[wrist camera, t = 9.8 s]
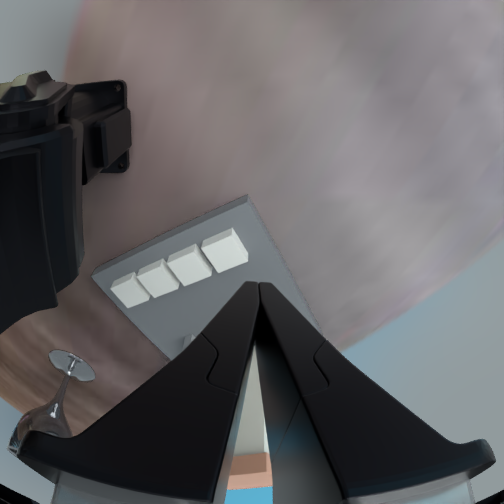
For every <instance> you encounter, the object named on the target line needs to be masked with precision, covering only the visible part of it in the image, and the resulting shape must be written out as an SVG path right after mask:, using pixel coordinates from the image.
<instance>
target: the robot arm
mask: <svg viewBox="0 0 504 504" xmlns="http://www.w3.org/2000/svg"><path fill="white" fill-rule="evenodd" d="M117 84H119V85H120V86H121V89H120V90H119V91H118V90H117V89H116V85H117ZM130 146H131V120H130V110H129V109H128V108H127V86H126V83H125V82H124V81H123V80H111V81H101V82H92V83H84V84H76V85H71V84H67V83H64V82H55V80H52V78H51V77H50V75H49V74H48V73H47V71H34V72H30V73H26V74H22V75H19V76H17V77H16V78H15V79H14V80H13V81H12V82H7V83H1V84H0V334H1V333H3V332H4V331H5V330H6V329H7V328H9V327H10V326H11V325H13V324H14V323H15V322H17V321H18V320H20V319H21V318H23V317H25V316H27V315H30V314H32V313H34V312H37V311H40V310H45V309H50V308H55V307H57V306H58V300H57V296H56V294H57V293H58V292H59V291H61V290H62V289H64V288H65V287H67V286H68V285H69V284H71V283H72V282H73V281H74V279H75V278H76V277H77V276H78V275H79V267H80V265H81V262H82V259H83V256H84V242H83V222H82V185H86V184H87V183H88V182H89V181H90V180H91V179H92V178H93V177H94V176H95V175H97V174H98V173H123V172H125V171H126V170H127V169H128V168H129V148H130ZM120 163H123V164H124V167H121V166H120ZM254 343H255V350H256V358H257V366H258V373H259V381H260V388H261V396H262V403H263V411H264V418H265V426H266V433H267V440H268V448H269V455H270V462H271V470H272V482H273V504H504V490H502V491H500V492H498V493H496V494H494V495H492V496H490V497H488V498H486V499H484V500H481V501H479V502H477V503H475V500H474V496H473V491H472V487H471V483H470V479H471V478H473V477H475V476H476V475H478V474H480V473H482V472H483V471H485V470H486V469H488V468H489V467H491V466H492V465H493V464H494V463H495V462H496V459H495V456H494V453H493V451H492V448H491V447H490V445H489V444H488V443H487V441H486V440H485V439H478V440H474V441H471V442H468V443H464V444H457V443H453V442H451V441H449V440H447V439H446V438H444V437H443V436H442V435H441V434H439V433H438V432H437V431H436V430H434V429H433V428H432V427H430V426H429V425H428V424H427V423H425V422H424V421H423V420H422V419H420V418H419V417H418V416H416V415H415V414H414V413H412V412H411V411H410V410H409V409H408V408H406V407H405V406H404V405H403V404H401V403H400V402H399V401H398V400H396V399H395V398H394V397H393V396H391V395H390V394H389V393H388V392H386V391H385V390H384V389H383V388H381V387H380V386H379V385H378V384H376V383H375V382H374V381H373V380H371V379H370V378H369V377H367V376H366V375H365V374H364V373H363V372H362V371H360V370H359V369H358V368H357V367H356V366H354V365H353V364H352V363H351V362H350V361H349V360H347V359H346V358H345V357H344V356H343V355H342V354H341V353H340V352H339V351H338V350H337V349H336V348H335V347H334V346H333V345H332V344H331V343H330V342H329V341H328V340H326V339H325V338H324V337H323V335H322V334H321V333H320V332H319V331H318V330H317V329H316V328H315V327H314V326H313V325H312V324H311V323H310V322H309V321H308V320H307V319H306V318H305V317H304V316H303V315H302V314H301V313H300V312H299V311H298V310H297V309H296V307H295V306H294V305H293V304H292V303H291V302H290V301H289V300H288V299H287V298H286V297H285V296H284V295H283V294H282V293H281V292H280V291H279V290H278V289H277V288H276V287H275V286H274V285H273V284H272V283H271V282H259V284H258V282H256V281H245V282H244V283H243V284H242V285H241V287H240V288H239V289H238V290H237V291H236V292H235V293H234V295H233V296H232V297H231V298H230V299H229V300H228V301H227V303H226V304H225V305H224V306H223V307H222V308H221V309H220V311H219V312H218V313H217V314H216V315H215V316H214V317H213V319H212V320H211V321H210V322H209V323H208V324H207V325H206V326H205V328H204V329H203V330H202V331H201V332H200V333H199V334H198V335H197V336H196V337H195V338H194V340H193V341H192V342H191V343H190V344H189V345H188V346H187V347H186V348H185V349H184V350H183V351H182V352H181V353H180V354H178V355H177V356H176V357H175V358H174V359H173V360H172V361H170V362H169V363H168V364H167V365H166V366H164V367H163V368H162V369H161V370H159V371H158V372H157V373H156V374H155V375H153V376H152V377H151V378H150V379H148V380H147V381H146V382H145V383H143V384H142V385H141V386H140V387H139V388H137V389H136V390H135V391H134V392H132V393H131V394H130V395H129V396H127V397H126V398H125V399H124V400H122V401H121V402H120V403H119V404H117V405H116V406H115V407H114V408H112V409H111V410H110V411H108V412H107V413H106V414H105V415H103V416H102V417H101V418H100V419H98V420H97V421H96V422H94V423H93V424H92V425H91V426H89V427H88V428H87V429H85V430H84V431H83V432H82V433H80V434H78V435H77V436H74V437H70V438H62V437H57V436H54V435H51V434H48V433H45V432H42V431H38V430H29V431H27V432H26V434H25V435H24V437H23V439H22V441H21V442H20V445H19V447H18V450H17V453H16V456H17V457H18V458H19V459H20V460H21V461H22V462H24V463H25V464H26V465H28V466H29V467H30V468H32V469H33V470H34V471H36V472H38V473H39V474H40V475H42V476H43V477H45V478H46V479H48V480H49V481H51V482H52V483H54V484H55V487H54V491H53V495H52V499H51V504H224V501H225V496H226V490H227V485H228V480H229V475H230V470H231V465H232V460H233V455H234V450H235V445H236V440H237V435H238V430H239V424H240V419H241V414H242V409H243V404H244V399H245V393H246V388H247V383H248V377H249V372H250V367H251V361H252V356H253V350H254ZM0 504H39V503H38V502H36V501H34V500H32V499H30V498H28V497H26V496H23V495H21V494H19V493H17V492H15V491H13V490H11V489H9V488H7V487H5V486H4V485H2V484H0Z"/></svg>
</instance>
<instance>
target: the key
mask: <svg viewBox="0 0 504 504" xmlns="http://www.w3.org/2000/svg"><path fill="white" fill-rule="evenodd" d="M268 486H273V482H272V470H271V462H270V455H269V448H268V440H267V433H266V426H265V418H264V411H263V403H262V396H261V388H260V381H259V373H258V366H257V358H256V350H255V346H254V350H253V356H252V361H251V367H250V372H249V377H248V383H247V388H246V393H245V399H244V404H243V409H242V414H241V419H240V424H239V430H238V435H237V440H236V445H235V450H234V455H233V460H232V465H231V470H230V475H229V480H228V485H227V489H229V490H233V489H247V488H258V487H268Z"/></svg>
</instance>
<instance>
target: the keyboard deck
mask: <svg viewBox="0 0 504 504" xmlns="http://www.w3.org/2000/svg"><path fill="white" fill-rule="evenodd" d="M91 277H92V279H93V280H94V281H95V282H96V283H97V284H98V285H99V287H100V288H101V289H102V290H103V291H104V292H105V293H106V294H107V296H108V297H109V298H110V299H111V300H112V301H113V302H114V303H115V304H116V305H117V306H118V307H119V309H120V310H121V311H122V312H123V313H124V314H125V315H126V316H127V317H128V318H129V319H130V320H131V321H132V322H133V323H134V324H135V325H136V326H137V327H138V328H139V329H140V330H141V331H142V332H143V333H144V334H145V335H146V336H147V337H148V338H149V339H150V340H151V341H152V342H153V343H154V344H155V345H156V346H157V347H158V348H159V349H160V350H161V351H162V352H163V353H164V354H165V355H166V356H167V357H168V358H169V359H170V360H171V361H172V360H173V359H174V358H175V357H176V356H177V355H178V354H180V353H181V352H182V351H183V350H184V349H185V348H186V347H187V346H188V345H189V344H190V343H191V342H192V341H193V340H194V338H195V337H196V336H197V335H198V334H199V333H200V332H201V331H202V330H203V329H204V328H205V326H206V325H207V324H208V323H209V322H210V321H211V320H212V319H213V317H214V316H215V315H216V314H217V313H218V312H219V311H220V309H221V308H222V307H223V306H224V305H225V304H226V303H227V301H228V300H229V299H230V298H231V297H232V296H233V295H234V293H235V292H236V291H237V290H238V289H239V288H240V287H241V285H242V284H243V283H244V282H245V281H256V282H258V284H259V282H271V283H272V284H273V285H274V286H275V287H276V288H277V289H278V290H279V291H280V292H281V293H282V294H283V295H284V296H285V297H286V298H287V299H288V300H289V301H290V302H291V303H292V304H293V305H294V306H295V307H296V309H297V310H298V311H299V312H300V313H301V314H302V315H303V316H304V317H305V318H306V319H307V320H308V321H309V322H310V323H311V324H312V325H313V326H314V327H315V328H316V329H317V330H318V331H319V332H320V333H321V334H322V335H323V333H322V331H321V329H320V327H319V325H318V323H317V321H316V319H315V318H314V316H313V314H312V312H311V310H310V308H309V306H308V304H307V302H306V300H305V299H304V297H303V295H302V293H301V291H300V289H299V287H298V285H297V284H296V282H295V280H294V278H293V276H292V274H291V272H290V271H289V269H288V267H287V265H286V263H285V261H284V259H283V258H282V256H281V254H280V252H279V250H278V248H277V247H276V245H275V243H274V241H273V239H272V237H271V236H270V234H269V232H268V230H267V228H266V226H265V225H264V223H263V221H262V219H261V217H260V216H259V214H258V212H257V210H256V208H255V206H254V205H253V203H252V201H251V199H250V197H249V196H248V195H245V196H243V197H241V198H239V199H236V200H234V201H232V202H230V203H228V204H225V205H223V206H221V207H219V208H217V209H215V210H212V211H210V212H208V213H206V214H204V215H202V216H200V217H197V218H195V219H193V220H191V221H189V222H187V223H185V224H183V225H181V226H179V227H176V228H174V229H172V230H170V231H168V232H166V233H164V234H162V235H160V236H158V237H156V238H154V239H152V240H150V241H148V242H146V243H144V244H142V245H140V246H138V247H136V248H134V249H132V250H130V251H128V252H126V253H124V254H122V255H120V256H118V257H116V258H114V259H112V260H111V261H109V262H107V263H105V264H103V265H101V266H99V267H97V268H96V269H95V271H94V272H93V274H92V276H91ZM254 346H255V343H254Z"/></svg>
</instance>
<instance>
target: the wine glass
mask: <svg viewBox="0 0 504 504" xmlns="http://www.w3.org/2000/svg"><path fill="white" fill-rule="evenodd" d="M48 357H49V360H50V362H51V364H52V365H53V366H54V368H56V369H57V370H58V371H59V372H60V373H62V374H63V375H65V376H64V379H63V381H62V384H61V386H60V388H59V390H58V391H57V393H56V395H55V397H54V398H53V399H52V400H51V401H50V402H49V403H47V404H45V405H43V406H40V407H38V408H35V409H32V410H30V411H28V412H26V413H25V414H24V415H23V416H22V418H21V419H20V420H19V422H18V423H17V425H16V427H15V428H14V430H13V433H12V435H11V437H10V439H9V442H8V445H7V450H8V451H9V452H10V453H11V454H13V455H14V456H16V453H17V450H18V447H19V445H20V442H21V441H22V439H23V437H24V435H25V434H26V432H27V431H29V430H38V431H42V432H45V433H48V434H51V435H54V436H57V437H62V438H70V437H73V434H72V431H71V429H70V427H69V424H68V422H67V420H66V417H65V414H64V410H63V399H64V395H65V391H66V387H67V384H68V382H69V380H70V379H73V380H75V381H79V382H92V381H93V380H94V379H95V373H94V371H93V369H92V368H91V367H90V366H89V365H88V364H87V363H86V362H85V361H84V360H82V359H81V358H79V357H77V356H76V355H74V354H71V353H69V352H66V351H63V350H52V351H50V352H49V354H48ZM16 457H17V456H16ZM17 458H18V457H17Z"/></svg>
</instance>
